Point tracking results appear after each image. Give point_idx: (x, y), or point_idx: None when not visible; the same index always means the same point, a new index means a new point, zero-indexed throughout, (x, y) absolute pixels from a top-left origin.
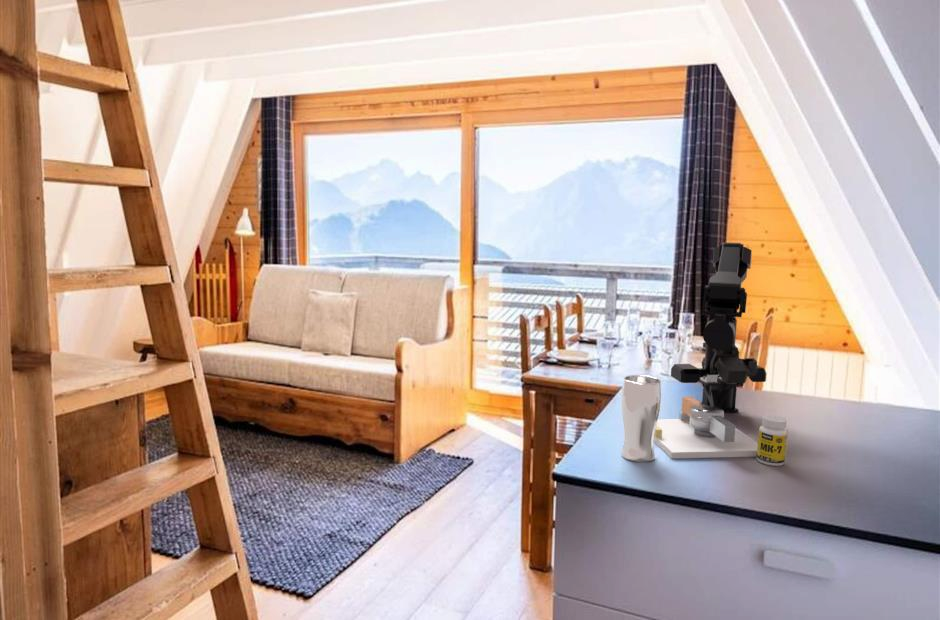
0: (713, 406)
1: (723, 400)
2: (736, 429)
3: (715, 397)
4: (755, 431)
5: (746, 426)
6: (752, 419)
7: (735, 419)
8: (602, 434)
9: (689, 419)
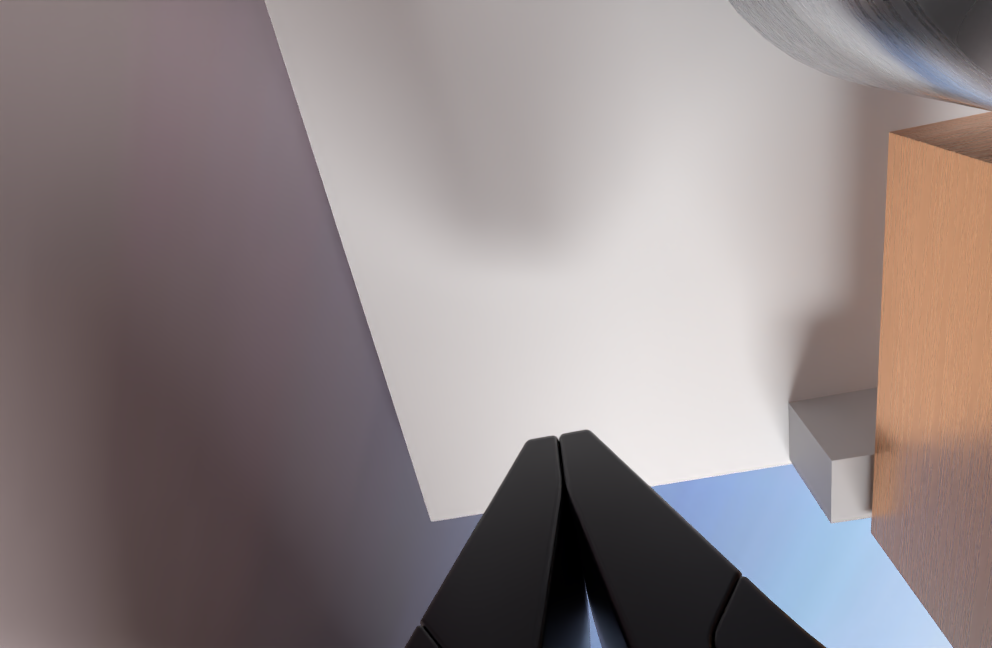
0: (966, 19)
1: (453, 581)
2: (317, 118)
3: (686, 608)
4: (77, 285)
5: (166, 433)
6: (88, 622)
7: (253, 604)
8: None
9: (871, 397)
